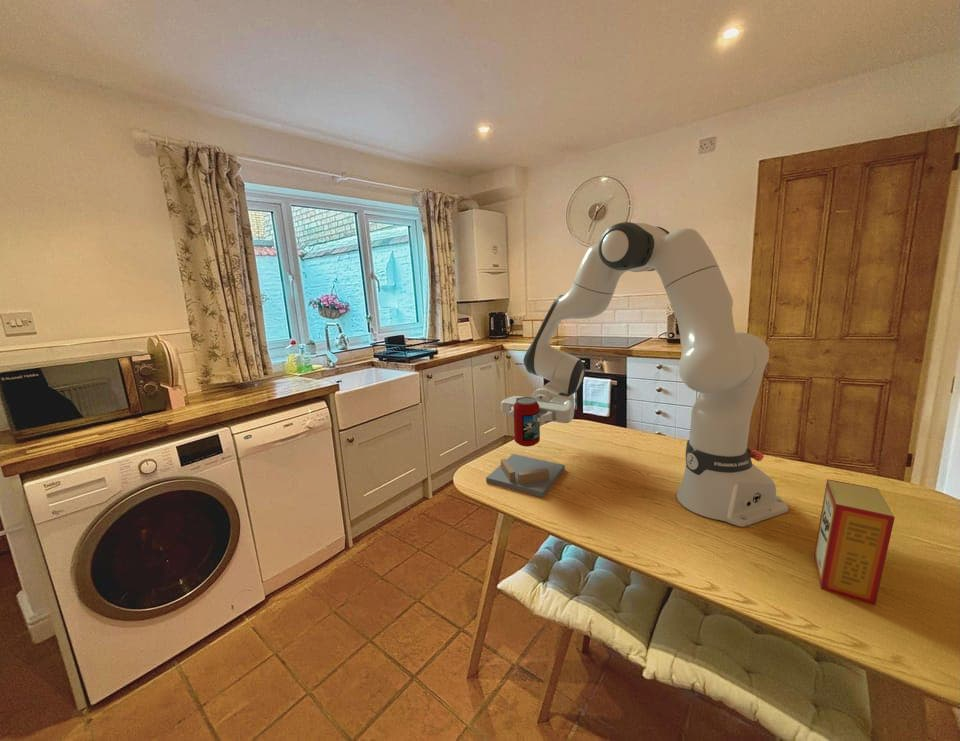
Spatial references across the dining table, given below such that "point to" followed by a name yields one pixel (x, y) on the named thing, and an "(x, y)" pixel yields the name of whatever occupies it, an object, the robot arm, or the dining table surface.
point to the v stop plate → (523, 467)
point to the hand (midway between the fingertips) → (525, 417)
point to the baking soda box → (852, 540)
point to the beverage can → (526, 421)
